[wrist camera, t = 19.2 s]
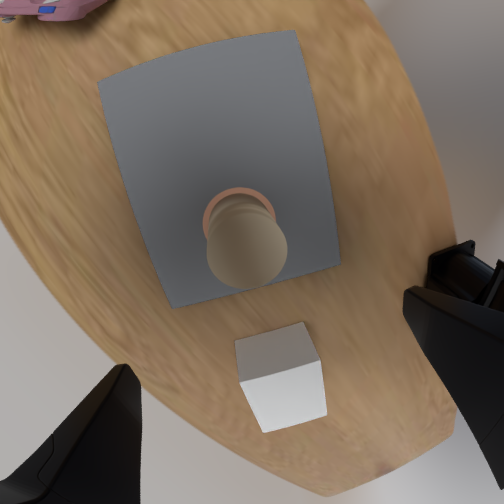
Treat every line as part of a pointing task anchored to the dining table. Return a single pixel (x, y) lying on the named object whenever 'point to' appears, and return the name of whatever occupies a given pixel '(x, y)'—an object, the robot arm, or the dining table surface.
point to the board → (221, 155)
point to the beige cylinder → (244, 242)
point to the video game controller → (48, 9)
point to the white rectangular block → (281, 377)
